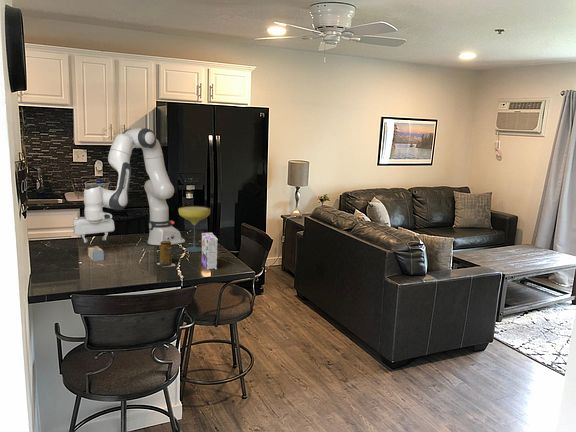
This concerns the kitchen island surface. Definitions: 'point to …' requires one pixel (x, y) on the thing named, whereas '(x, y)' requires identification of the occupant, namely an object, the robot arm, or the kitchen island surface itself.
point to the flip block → (95, 253)
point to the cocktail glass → (194, 219)
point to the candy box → (209, 251)
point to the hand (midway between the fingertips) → (95, 241)
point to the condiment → (166, 254)
